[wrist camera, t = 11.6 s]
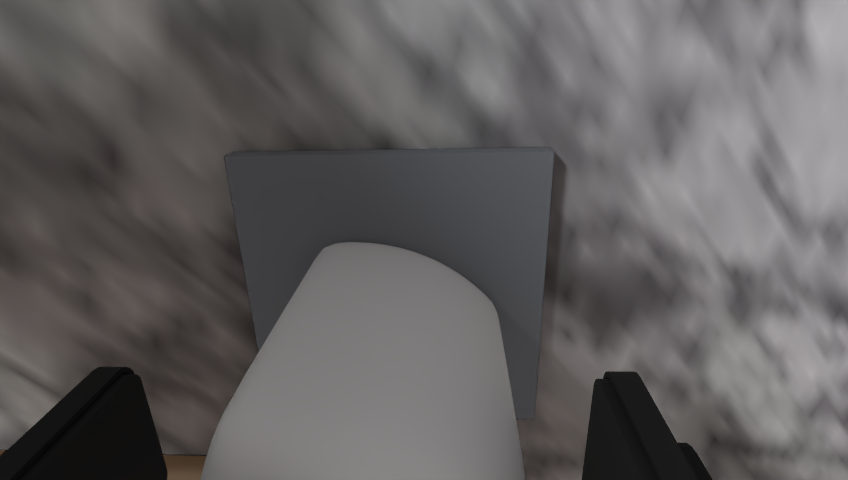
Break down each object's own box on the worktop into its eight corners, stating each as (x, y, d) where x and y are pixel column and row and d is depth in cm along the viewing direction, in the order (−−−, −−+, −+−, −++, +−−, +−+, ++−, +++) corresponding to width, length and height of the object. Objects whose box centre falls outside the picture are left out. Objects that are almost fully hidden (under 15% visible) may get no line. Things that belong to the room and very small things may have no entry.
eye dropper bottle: (407, 394, 16) (319, 1136, 5) (287, 274, 15) (-185, 952, 4) (515, 323, 15) (694, 1092, 4) (396, 185, 14) (173, 801, 3)
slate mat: (232, 151, 14) (223, 156, 14) (550, 146, 14) (554, 151, 13) (275, 403, 18) (269, 415, 17) (531, 407, 17) (534, 419, 17)
